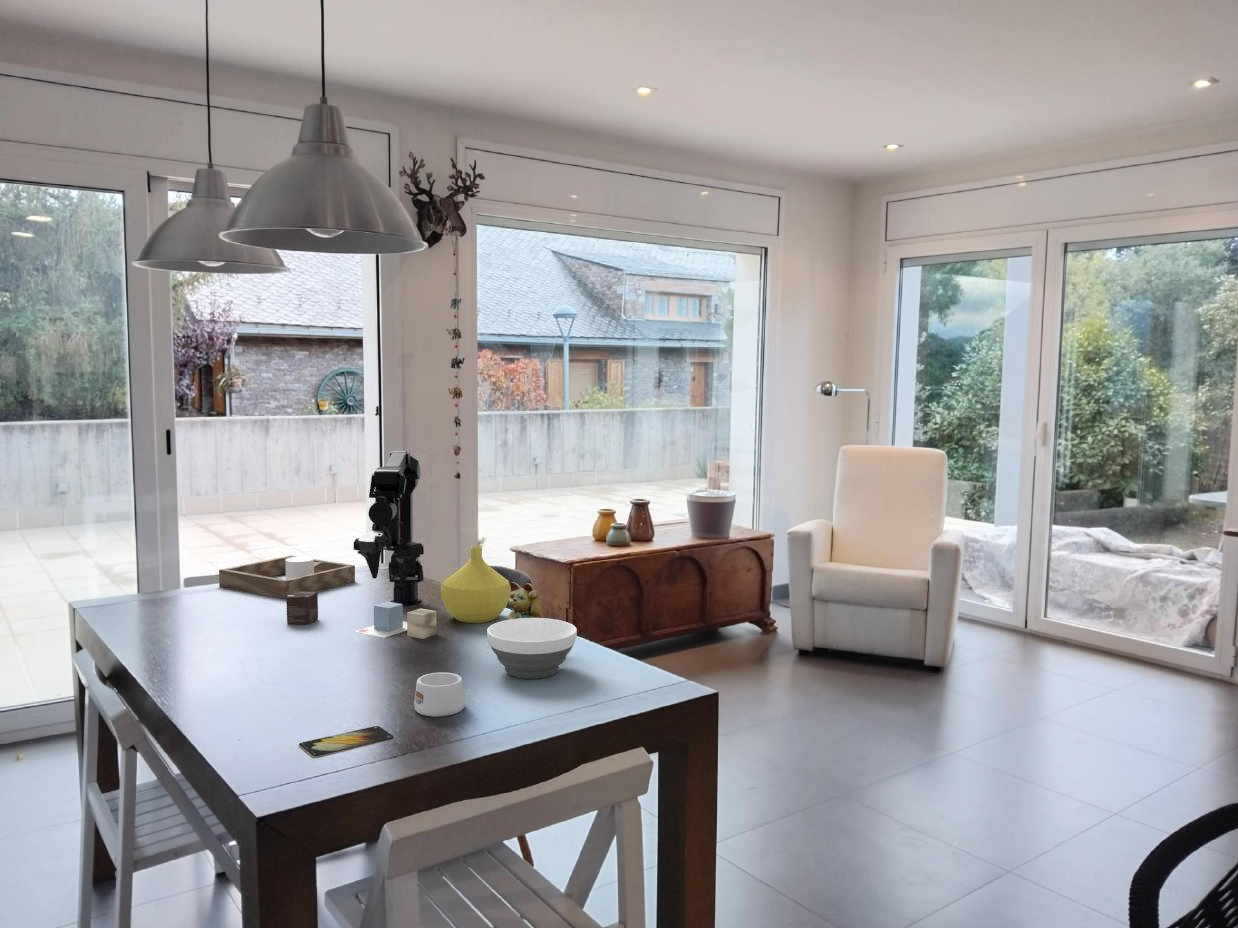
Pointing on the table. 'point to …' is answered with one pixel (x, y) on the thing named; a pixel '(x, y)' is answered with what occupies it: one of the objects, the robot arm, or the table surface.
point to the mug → (439, 694)
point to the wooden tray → (261, 582)
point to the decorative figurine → (524, 602)
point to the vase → (475, 591)
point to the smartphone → (345, 741)
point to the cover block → (421, 623)
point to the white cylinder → (299, 566)
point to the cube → (388, 616)
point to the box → (302, 607)
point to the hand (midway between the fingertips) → (388, 580)
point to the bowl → (531, 645)
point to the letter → (381, 633)
